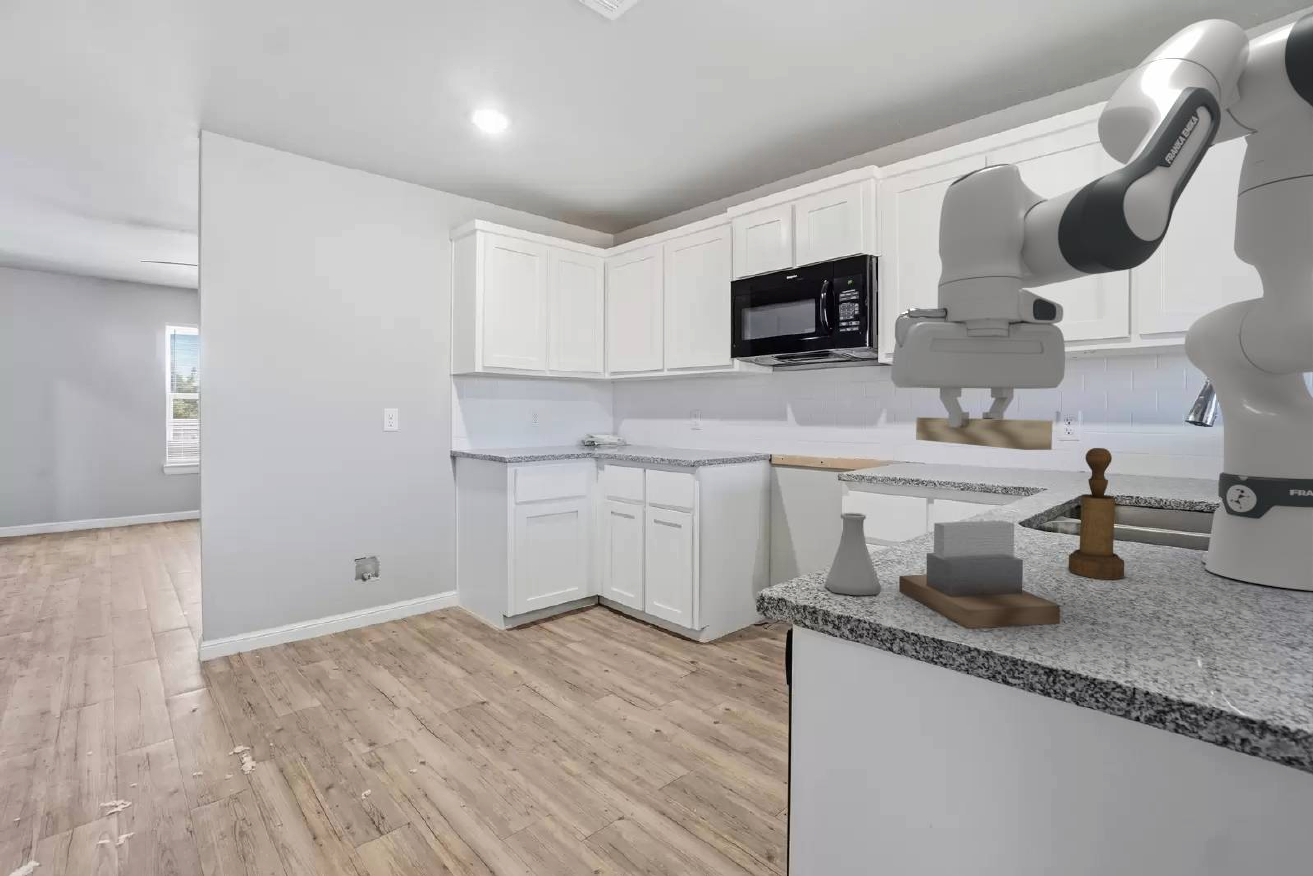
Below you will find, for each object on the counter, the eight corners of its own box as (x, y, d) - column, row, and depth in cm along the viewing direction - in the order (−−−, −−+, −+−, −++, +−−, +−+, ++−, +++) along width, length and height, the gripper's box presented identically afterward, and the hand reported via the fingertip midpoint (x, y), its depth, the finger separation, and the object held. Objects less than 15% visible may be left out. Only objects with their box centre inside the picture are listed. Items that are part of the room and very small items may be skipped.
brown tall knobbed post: (1124, 582, 83) (1127, 450, 82) (1066, 575, 87) (1069, 448, 86) (1123, 572, 88) (1127, 447, 88) (1069, 565, 92) (1072, 446, 91)
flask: (886, 599, 77) (886, 519, 76) (826, 595, 78) (826, 518, 78) (876, 583, 84) (877, 510, 83) (822, 580, 85) (822, 509, 85)
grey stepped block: (993, 581, 77) (994, 518, 76) (1022, 593, 72) (1023, 525, 71) (926, 585, 75) (927, 520, 75) (951, 597, 70) (952, 528, 70)
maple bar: (1051, 449, 63) (1052, 420, 63) (1025, 449, 63) (1026, 420, 63) (936, 439, 83) (937, 417, 83) (916, 439, 82) (916, 417, 82)
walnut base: (976, 587, 81) (977, 572, 81) (1059, 623, 67) (1060, 605, 67) (899, 591, 80) (899, 575, 80) (968, 628, 66) (968, 610, 66)
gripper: (911, 302, 67) (908, 428, 68) (1076, 307, 70) (1073, 427, 71) (882, 311, 74) (880, 426, 74) (1035, 315, 77) (1032, 426, 77)
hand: (975, 427), depth 73 cm, fingers closed on maple bar, 3 cm apart
